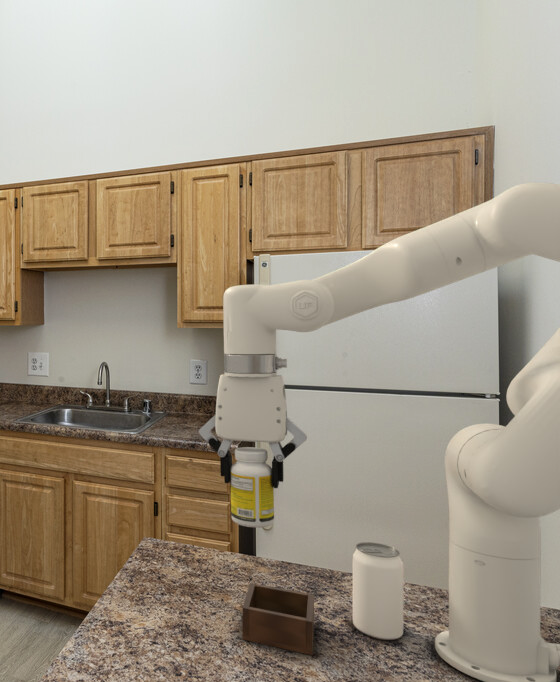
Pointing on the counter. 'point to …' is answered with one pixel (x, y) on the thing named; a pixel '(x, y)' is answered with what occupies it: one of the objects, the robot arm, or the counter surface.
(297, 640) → the box
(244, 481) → the pill bottle
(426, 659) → the counter surface
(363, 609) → the can
